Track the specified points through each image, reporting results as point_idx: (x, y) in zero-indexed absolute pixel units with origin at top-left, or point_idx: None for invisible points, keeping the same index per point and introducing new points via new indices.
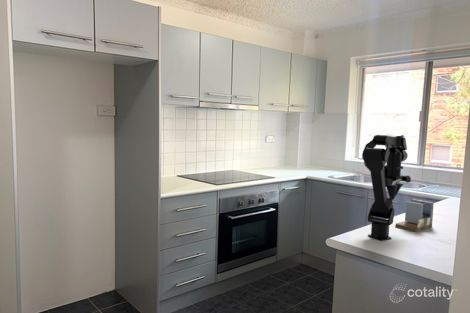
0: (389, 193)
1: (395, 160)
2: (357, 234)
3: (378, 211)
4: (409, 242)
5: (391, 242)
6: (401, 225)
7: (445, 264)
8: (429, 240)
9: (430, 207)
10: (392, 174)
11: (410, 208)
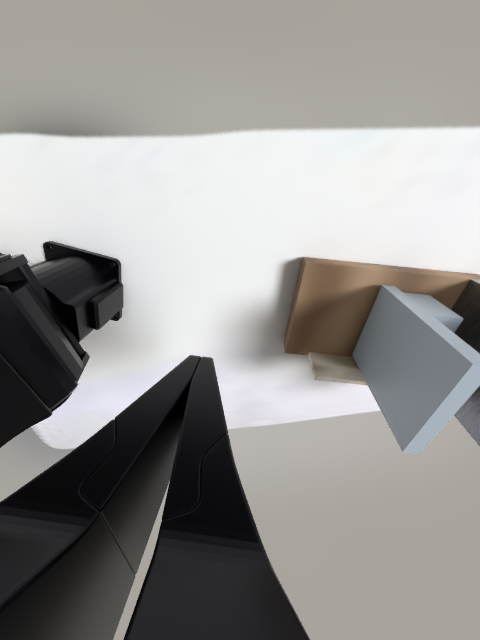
0: (134, 416)
1: None
2: (15, 189)
3: None
4: (147, 365)
5: None
6: (298, 293)
7: None
8: (224, 392)
9: (477, 439)
10: None
11: (414, 359)
